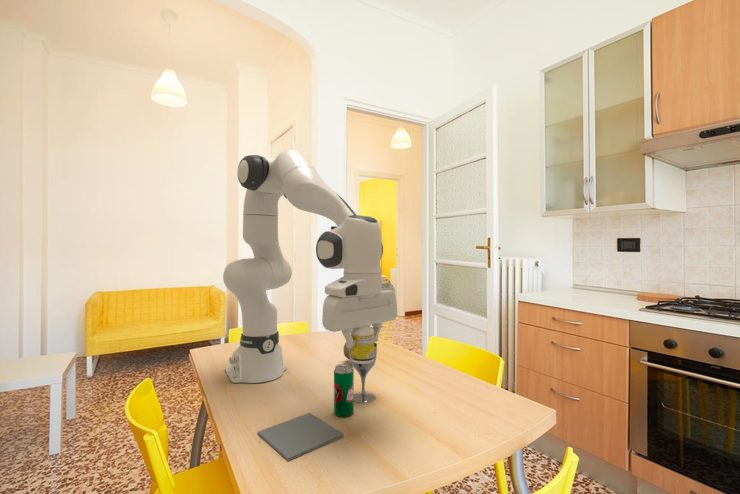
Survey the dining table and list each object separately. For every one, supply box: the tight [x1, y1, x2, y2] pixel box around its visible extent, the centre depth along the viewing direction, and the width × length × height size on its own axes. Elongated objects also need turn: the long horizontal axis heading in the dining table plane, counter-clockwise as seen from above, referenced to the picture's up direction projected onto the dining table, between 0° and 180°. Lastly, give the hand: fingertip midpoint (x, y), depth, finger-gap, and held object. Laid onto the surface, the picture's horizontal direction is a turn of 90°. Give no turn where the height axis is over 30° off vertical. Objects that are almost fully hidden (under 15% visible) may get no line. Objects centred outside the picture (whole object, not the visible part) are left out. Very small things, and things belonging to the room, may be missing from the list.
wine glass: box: [349, 342, 378, 404], centre depth 103 cm, size 8×8×15 cm
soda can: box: [333, 363, 355, 418], centre depth 93 cm, size 5×5×12 cm
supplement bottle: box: [350, 320, 374, 364], centre depth 84 cm, size 5×5×10 cm
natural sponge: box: [343, 342, 350, 361], centre depth 132 cm, size 9×9×10 cm
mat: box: [257, 412, 345, 462], centre depth 83 cm, size 14×14×1 cm
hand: (362, 344), depth 85 cm, fingers closed on supplement bottle, 5 cm apart
